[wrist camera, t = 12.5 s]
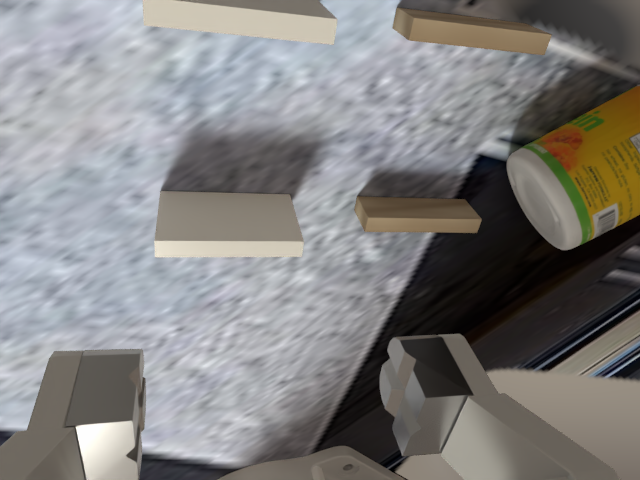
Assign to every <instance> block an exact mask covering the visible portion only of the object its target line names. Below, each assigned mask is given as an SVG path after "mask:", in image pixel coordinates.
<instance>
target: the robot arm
mask: <svg viewBox="0 0 640 480" xmlns="http://www.w3.org/2000/svg"><path fill="white" fill-rule="evenodd" d="M387 351H388V353H389V356H390V359H389V360H388V361H386V362H385V363H384V364H383V365H382V369H381V373H380V393H381V398H382V401H383V404H384V407H385V409H386V410H387V411H388V412H389V413H390V414H392V415H393V416H394V417H395V420H394V423H393V426H392V429H393V432H394V435H395V438H396V440H397V443H398V446H399V448H400V451H401V454H402V456H413V455H426V454H439V453H441V456H442V457H443V458H444V460H446V462H448V464H449V465H450V466H452V467H453V469H454V470H455V471H456V472H457V473H458V474H459V475H460V476H461V477H462V478H463V479H464V480H621V479H620V477H619V476H618V475H617V473H616V472H615V470H614V469H613V468H611V467H610V466H608V465H607V464H606V463H604V462H603V461H601V460H600V459H598V458H597V457H596V456H594V455H592V454H591V453H590V452H588V451H587V450H585V449H584V448H583V447H581V446H580V445H578V444H577V443H575V442H574V441H573V440H571V439H570V438H568V437H567V436H565V435H564V434H562V433H561V432H560V431H558V430H557V429H555V428H554V427H552V426H551V425H550V424H548V423H546V422H545V421H544V420H542V419H541V418H539V417H538V416H537V415H535V414H534V413H532V412H531V411H529V410H528V409H526V408H525V407H524V406H522V405H521V404H519V403H518V402H516V401H515V400H513V399H512V398H511V397H509V396H508V395H506V394H498V392H497V391H496V389H495V387H494V385H493V384H492V382H491V380H490V379H489V377H488V375H487V374H486V372H485V370H484V369H483V367H482V365H481V364H480V362H479V361H478V359H477V357H476V356H475V354H474V352H473V351H472V349H471V347H470V346H469V344H468V342H467V341H466V339H465V337H463V336H462V335H461V334H444V335H424V336H406V337H394V338H393V339H392V340H391V341H390V343H389V346H388V349H387ZM143 370H144V355H143V350H142V349H111V350H85V351H54V352H53V354H52V355H51V357H50V358H49V361H48V364H47V367H46V370H45V374H44V377H43V380H42V383H41V386H40V390H39V393H38V396H37V399H36V403H35V406H34V409H33V412H32V415H31V419H30V422H29V425H28V428H27V431H17V432H16V433H15V434H14V435H13V436H12V437H11V438H9V439H8V440H7V441H6V442H5V443H4V444H3V445H2V446H1V447H0V480H139V477H140V467H141V457H142V441H141V432H142V431H143V430H144V425H145V412H146V381H145V378H144V377H143ZM218 480H408V479H406V478H404V477H403V476H401V475H399V474H397V473H396V472H395V473H393V472H392V471H390V470H388V469H386V468H385V467H383V466H381V465H380V464H378V463H376V462H374V461H373V460H371V459H369V458H368V457H366V456H364V455H362V454H361V453H359V452H357V451H356V450H354V449H352V448H350V447H348V446H336V447H332V448H328V449H325V450H322V451H319V452H316V453H313V454H311V455H308V456H304V457H299V458H292V459H284V460H276V461H270V462H264V463H260V464H256V465H252V466H249V467H246V468H243V469H240V470H237V471H234V472H232V473H230V474H227V475H225V476H223V477H221V478H219V479H218Z"/></svg>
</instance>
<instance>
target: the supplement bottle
mask: <svg viewBox="0 0 640 480" xmlns="http://www.w3.org/2000/svg"><path fill="white" fill-rule="evenodd" d="M507 173H508V177H509V181H510V184H511V187H512V189H513V192H514V194H515V196H516V198H517V200H518V202H519V204H520V206H521V208H522V210H523V212H524V213H525V215H526V217H527V218H528V219H529V221H530V222H531V223H532V225H533V226H534V227H535V228H536V230H537V231H538V232H539V233H540V234H541V235H542V236H543V237H544V238H545V239H546V240H547V241H548V242H549V243H550V244H552V245H553V246H555V247H556V248H558V249H561V250H569V249H572V248H575V247H577V246H579V245H581V244H583V243H585V242H587V241H590V240H592V239H593V238H595V237H598V236H599V235H601V234H603V233H605V232H607V231H609V230H611V229H613V228H615V227H617V226H619V225H621V224H623V223H625V222H627V221H629V220H630V219H632V218H634V217H636V216H638V215H640V84H639V85H637V86H635V87H633V88H631V89H629V90H627V91H626V92H624V93H622V94H620V95H618V96H616V97H615V98H613V99H611V100H609V101H607V102H605V103H604V104H602V105H600V106H598V107H596V108H594V109H592V110H591V111H589V112H587V113H585V114H583V115H581V116H580V117H578V118H576V119H574V120H572V121H570V122H568V123H566V124H565V125H563V126H561V127H559V128H557V129H555V130H553V131H552V132H550V133H548V134H546V135H544V136H542V137H540V138H538V139H537V140H535V141H533V142H531V143H529V144H527V145H525V146H523V147H522V148H520V149H518V150H517V151H515V152H513V153H512V154H511V155H510V156H509V158H508V160H507Z"/></svg>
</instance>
